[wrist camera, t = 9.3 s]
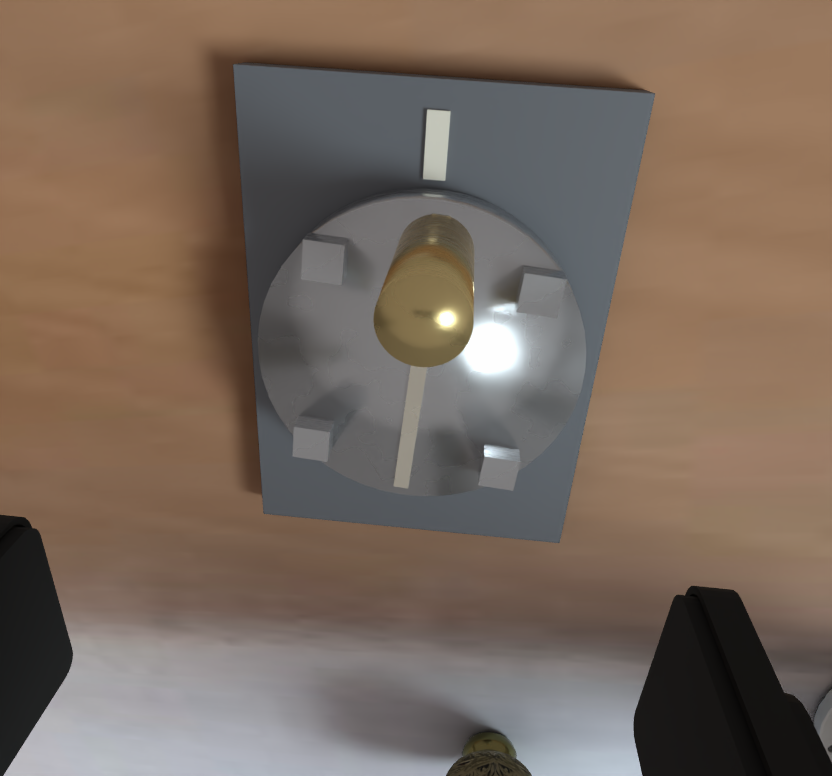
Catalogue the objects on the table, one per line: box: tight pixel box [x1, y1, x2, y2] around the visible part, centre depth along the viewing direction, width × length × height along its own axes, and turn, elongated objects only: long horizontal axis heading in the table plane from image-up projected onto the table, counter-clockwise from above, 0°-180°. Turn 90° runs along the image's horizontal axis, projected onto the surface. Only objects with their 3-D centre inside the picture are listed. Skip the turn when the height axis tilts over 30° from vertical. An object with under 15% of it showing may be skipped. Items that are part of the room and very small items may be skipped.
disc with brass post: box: [258, 188, 586, 496], centre depth 26 cm, size 14×14×9 cm
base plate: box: [233, 62, 655, 543], centre depth 31 cm, size 22×16×2 cm
